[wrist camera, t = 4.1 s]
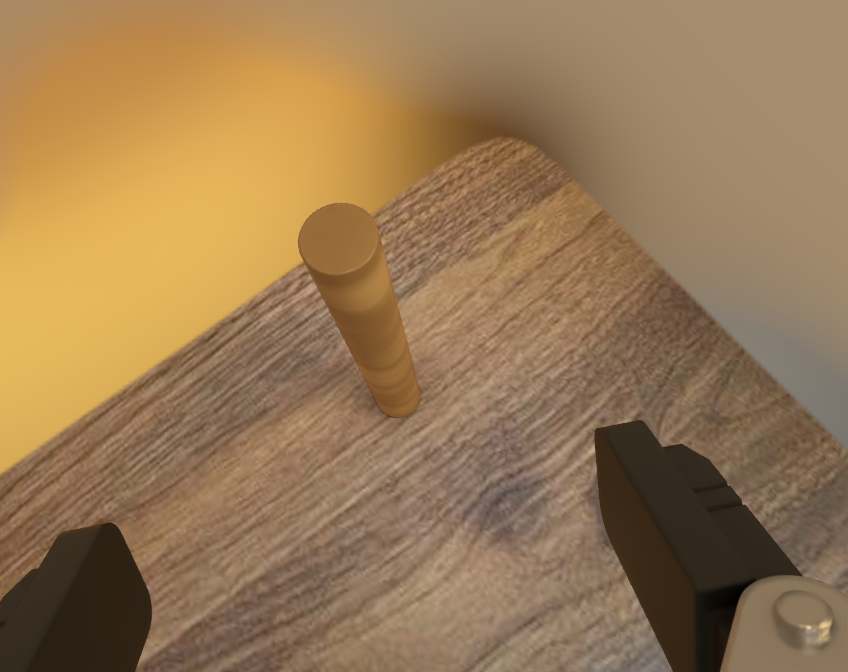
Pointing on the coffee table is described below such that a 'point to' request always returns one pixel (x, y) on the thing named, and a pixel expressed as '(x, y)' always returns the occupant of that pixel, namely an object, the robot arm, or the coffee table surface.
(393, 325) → the stick
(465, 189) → the coffee table surface
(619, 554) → the robot arm
